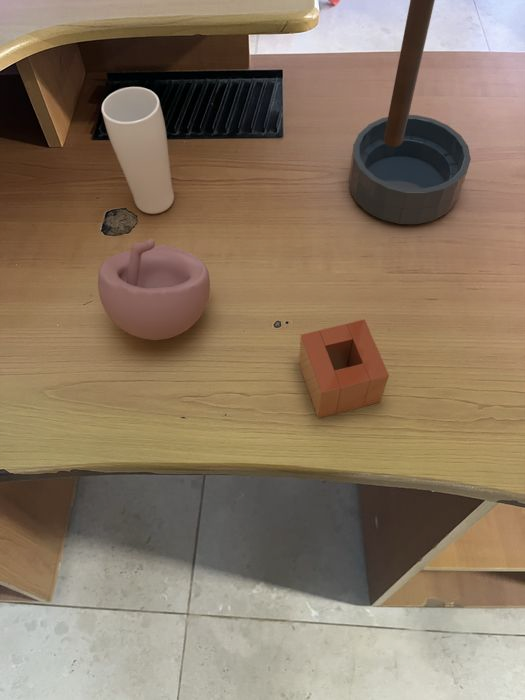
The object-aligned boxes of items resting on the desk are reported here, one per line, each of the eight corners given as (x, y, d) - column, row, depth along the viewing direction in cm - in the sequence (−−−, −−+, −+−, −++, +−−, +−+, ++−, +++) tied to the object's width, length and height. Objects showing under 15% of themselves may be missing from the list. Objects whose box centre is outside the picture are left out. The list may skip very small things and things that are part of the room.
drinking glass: (189, 205, 77) (170, 108, 64) (145, 227, 75) (117, 131, 62) (164, 177, 80) (142, 78, 67) (121, 197, 78) (90, 100, 65)
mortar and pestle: (225, 283, 70) (216, 217, 60) (200, 367, 64) (185, 308, 54) (132, 269, 71) (108, 202, 62) (99, 350, 65) (67, 290, 56)
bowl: (431, 142, 82) (441, 105, 77) (476, 214, 75) (490, 178, 69) (334, 162, 80) (338, 126, 75) (370, 237, 73) (377, 203, 68)
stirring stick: (398, 132, 55) (452, -121, 38) (405, 144, 54) (464, -109, 37) (380, 136, 55) (427, -117, 38) (387, 148, 54) (439, -105, 37)
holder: (358, 348, 65) (364, 318, 59) (380, 402, 61) (389, 375, 56) (298, 363, 64) (300, 334, 59) (318, 418, 60) (321, 392, 55)
